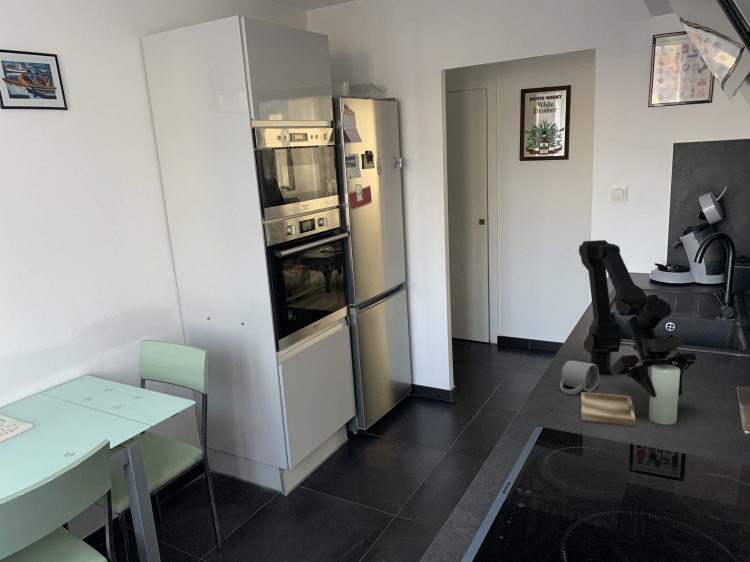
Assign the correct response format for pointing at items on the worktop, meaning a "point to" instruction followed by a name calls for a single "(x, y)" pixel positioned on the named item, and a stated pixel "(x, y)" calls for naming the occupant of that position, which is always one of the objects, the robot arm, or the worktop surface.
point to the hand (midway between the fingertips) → (667, 395)
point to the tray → (607, 409)
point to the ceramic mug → (579, 376)
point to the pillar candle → (664, 394)
